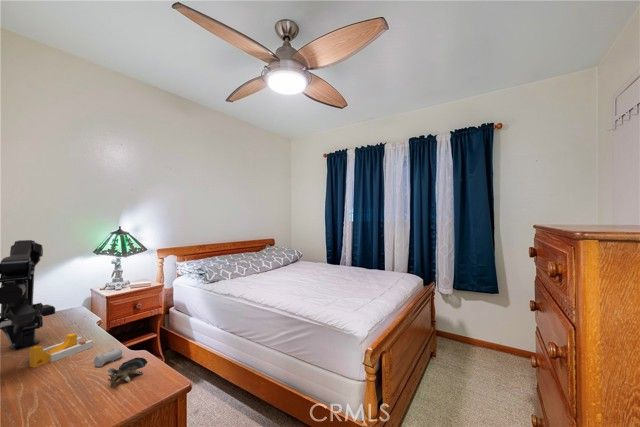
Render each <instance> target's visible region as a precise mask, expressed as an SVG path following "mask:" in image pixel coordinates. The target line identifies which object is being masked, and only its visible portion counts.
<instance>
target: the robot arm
mask: <svg viewBox="0 0 640 427" xmlns="http://www.w3.org/2000/svg"><path fill="white" fill-rule="evenodd" d="M43 254H44V248H43V244H40V243H37V242H36V241H35V240H32V239H26V240H24V239H22V240H20V239H19V240H16V241H14V243H13V245H10V249H9V256H6V257H3V258H2V259H1V260H0V284H1V285H0V330H1V331H2V332H3V333H4V335H5V337H6V338H7V339H8V341H9V344H10V345H8V347H9V348H10V349H12V350H15V351H17V350H18V351H19V350H22V349H24V348H27V347H31V346H33V345H34V346H35V345H39V344H40V341H39V340H36V329H40V328H42V327H43V326H44V325H43V324H44V321H43V320H44V318H43V317H49V316H51V315H55V314H56V307H55V306H54V305H50V304H43V303H42V302H38V303H34V288H35V284H34V283H35V270H36V266H37V265H38V264H39V263H40V261H41V257H43Z"/></svg>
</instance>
